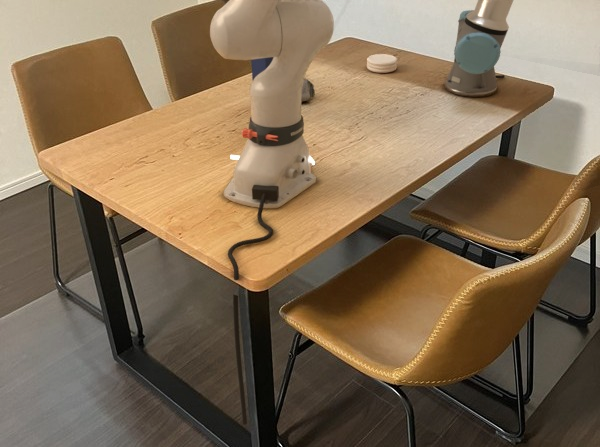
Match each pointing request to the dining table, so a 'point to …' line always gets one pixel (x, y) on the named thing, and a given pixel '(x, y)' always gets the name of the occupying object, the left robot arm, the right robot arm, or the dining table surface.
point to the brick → (260, 65)
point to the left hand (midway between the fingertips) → (268, 61)
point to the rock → (307, 90)
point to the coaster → (381, 63)
